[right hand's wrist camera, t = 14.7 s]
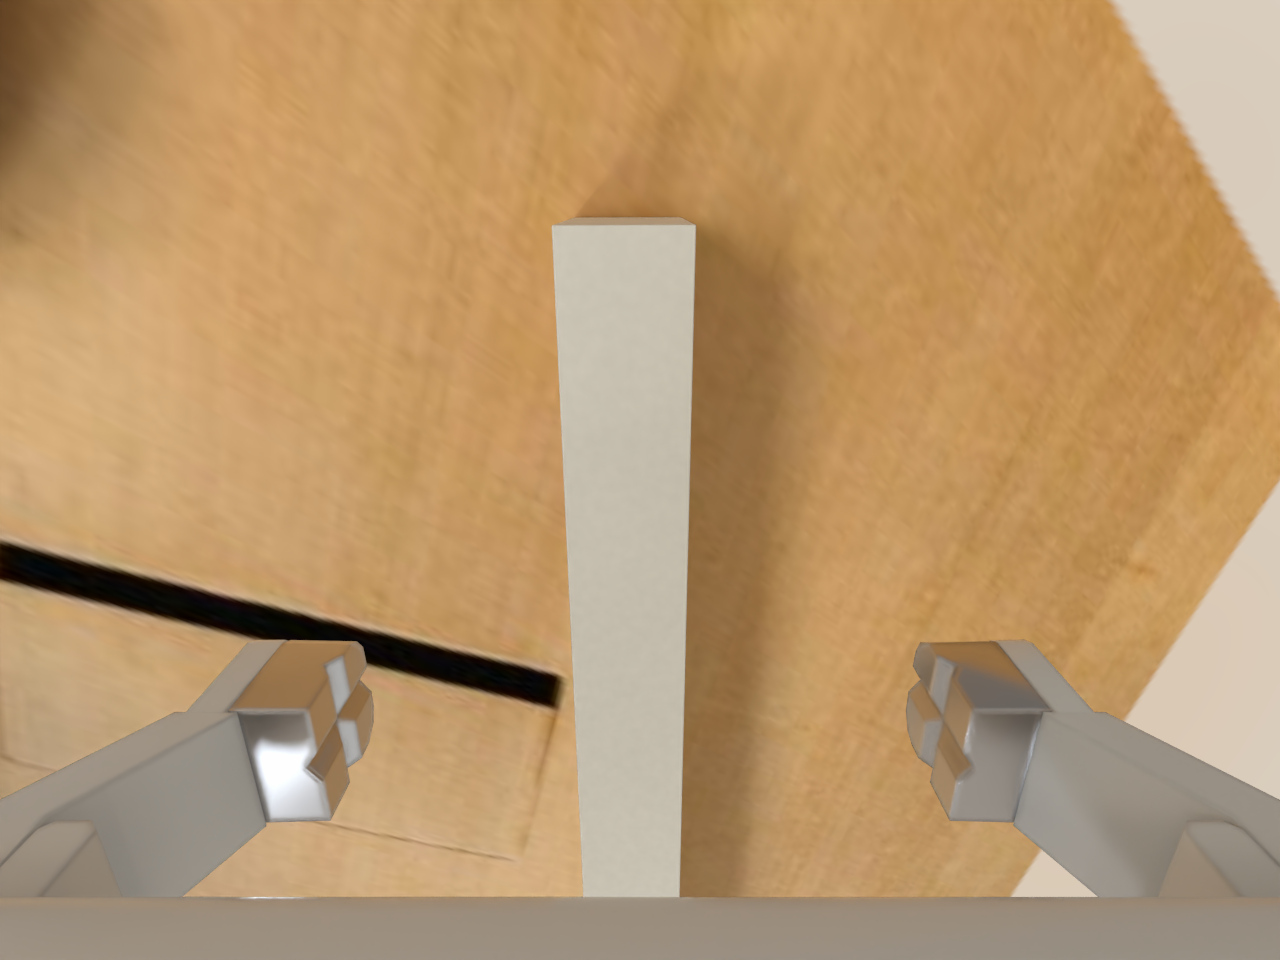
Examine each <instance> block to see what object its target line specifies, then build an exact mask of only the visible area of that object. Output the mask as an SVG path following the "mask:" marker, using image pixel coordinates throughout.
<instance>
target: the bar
mask: <svg viewBox="0 0 1280 960" xmlns="http://www.w3.org/2000/svg"><path fill="white" fill-rule="evenodd" d="M552 241H553V262H554V283H555V304H556V326H557V347H558V368H559V389H560V410H561V432H562V453H563V474H564V495H565V516H566V538H567V559H568V580H569V601H570V622H571V644H572V665H573V686H574V707H575V728H576V750H577V771H578V792H579V813H580V834H581V856H582V877H583V897H680V859H681V819H682V778H683V738H684V697H685V657H686V616H687V576H688V535H689V495H690V454H691V414H692V373H693V333H694V292H695V252H696V225H695V224H693V223H691V222H689V221H687V220H685V219H683V218H681V217H575V218H572V219H569V220H566V221H563V222H560V223H558V224H555V225H552Z"/></svg>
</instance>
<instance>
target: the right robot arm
mask: <svg viewBox="0 0 1280 960" xmlns="http://www.w3.org/2000/svg"><path fill="white" fill-rule="evenodd" d="M366 667H367V664H366V659H365V654H364V650H363V647H362V646H361V645H360V644H359V643H358V642H353V641H306V640H290V641H287V640H256V641H252V642H249V643H247V644H246V645H245V646H244V647H243V649H242V650H241V651H240V652H239V653H238V654H237V655H236V656H235V658H234V659H233V660H232V661H231V662H230V663H229V664H228V665H227V667H226V668H225V669H224V670H223V671H222V672H221V673H220V674H219V676H218V677H217V678H216V679H215V680H214V681H213V682H212V683H211V685H210V686H209V687H208V688H207V689H206V690H205V691H204V692H203V694H202V695H201V696H200V697H199V698H198V699H197V700H196V701H195V702H194V704H193V705H192V706H191V707H190V708H189V709H188V710H187V711H186V712H174V713H172V714H170V715H168V716H166V717H164V718H162V719H160V720H158V721H156V722H154V723H152V724H150V725H148V726H146V727H144V728H142V729H140V730H138V731H136V732H134V733H132V734H130V735H128V736H126V737H124V738H122V739H120V740H118V741H116V742H114V743H112V744H110V745H108V746H106V747H104V748H102V749H100V750H98V751H96V752H94V753H92V754H90V755H88V756H86V757H84V758H82V759H80V760H78V761H76V762H74V763H72V764H70V765H68V766H66V767H64V768H62V769H60V770H59V771H57V772H55V773H53V774H51V775H49V776H47V777H45V778H43V779H41V780H39V781H37V782H35V783H33V784H31V785H29V786H27V787H25V788H23V789H21V790H19V791H17V792H15V793H13V794H11V795H9V796H7V797H5V798H3V799H1V800H0V960H1280V800H1279V799H1277V798H1275V797H1273V796H1271V795H1269V794H1267V793H1265V792H1263V791H1261V790H1259V789H1257V788H1255V787H1253V786H1251V785H1249V784H1247V783H1245V782H1243V781H1241V780H1239V779H1237V778H1235V777H1233V776H1231V775H1229V774H1227V773H1225V772H1223V771H1221V770H1219V769H1217V768H1215V767H1213V766H1211V765H1209V764H1207V763H1205V762H1203V761H1201V760H1199V759H1197V758H1195V757H1193V756H1191V755H1189V754H1187V753H1185V752H1183V751H1181V750H1179V749H1177V748H1175V747H1173V746H1171V745H1169V744H1167V743H1165V742H1164V741H1161V740H1160V739H1157V738H1156V737H1154V736H1152V735H1150V734H1148V733H1146V732H1144V731H1142V730H1140V729H1138V728H1136V727H1134V726H1132V725H1130V724H1128V723H1126V722H1124V721H1122V720H1120V719H1118V718H1116V717H1114V716H1112V715H1110V714H1108V713H1106V712H1093V710H1092V709H1091V708H1090V707H1089V706H1088V705H1087V704H1086V703H1085V701H1084V700H1083V699H1082V698H1081V697H1080V696H1079V695H1078V694H1077V692H1076V691H1075V690H1074V689H1073V688H1072V687H1071V686H1070V685H1069V683H1068V682H1067V681H1066V680H1065V679H1064V678H1063V677H1062V676H1061V674H1060V673H1059V672H1058V671H1057V670H1056V669H1055V668H1054V667H1053V665H1052V664H1051V663H1050V662H1049V661H1048V660H1047V659H1046V658H1045V656H1044V655H1043V654H1042V653H1041V652H1040V651H1039V650H1038V649H1037V647H1036V646H1035V645H1034V644H1033V643H1031V642H1028V641H1026V640H996V641H987V642H920V644H919V646H918V648H917V650H916V653H915V658H914V663H913V667H914V669H915V671H916V672H917V674H918V676H919V678H920V679H921V680H920V681H919V682H918V683H917V684H916V685H915V686H914V687H913V688H912V689H911V690H910V691H909V692H908V700H907V707H906V717H907V728H908V733H909V736H910V740H911V743H912V746H913V748H914V750H915V752H916V754H917V756H918V758H919V759H921V760H922V761H923V762H925V763H926V764H928V765H929V766H931V767H932V768H933V770H932V775H931V780H930V783H931V785H932V787H933V789H934V791H935V793H936V795H937V797H938V798H939V800H940V802H941V804H942V806H943V808H944V810H945V812H946V814H947V816H948V818H949V820H950V821H983V822H1014V824H1013V825H1014V826H1015V827H1016V828H1017V829H1018V830H1019V831H1021V832H1022V833H1023V834H1024V835H1025V836H1027V837H1028V838H1029V839H1030V840H1031V841H1033V842H1034V843H1035V844H1036V845H1037V846H1038V847H1040V848H1041V849H1042V850H1043V851H1044V852H1046V853H1047V854H1048V855H1049V856H1050V857H1052V858H1053V859H1054V860H1055V861H1056V862H1057V863H1059V864H1060V865H1061V866H1062V867H1063V868H1065V869H1066V870H1067V871H1068V872H1069V873H1070V874H1072V875H1073V876H1074V877H1075V878H1076V879H1078V880H1079V881H1080V882H1081V883H1082V884H1084V885H1085V886H1086V887H1087V888H1088V889H1090V890H1091V891H1092V892H1093V893H1094V894H1095V895H1097V896H1098V897H182V896H184V895H185V894H186V893H187V892H188V891H190V890H191V889H192V888H193V887H194V886H195V885H197V884H198V883H199V882H200V881H201V880H203V879H204V878H205V877H206V876H207V875H209V874H210V873H211V872H212V871H213V870H214V869H216V868H217V867H218V866H219V865H220V864H222V863H223V862H224V861H225V860H226V859H228V858H229V857H230V856H231V855H232V854H234V853H235V852H236V851H237V850H238V849H239V848H241V847H242V846H243V845H244V844H245V843H247V842H248V841H249V840H250V839H251V838H253V837H254V836H255V835H256V834H257V833H259V832H260V831H261V830H262V829H263V828H264V827H266V822H296V821H330V820H331V818H332V816H333V814H334V812H335V810H336V808H337V806H338V804H339V803H340V801H341V799H342V797H343V795H344V793H345V791H346V789H347V787H348V785H349V783H350V780H349V775H348V770H347V768H348V767H349V766H351V765H352V764H354V763H355V762H357V761H358V760H359V759H361V758H362V756H363V754H364V752H365V750H366V748H367V746H368V743H369V741H370V736H371V731H372V727H373V722H374V705H373V698H372V692H371V691H370V690H369V689H368V688H367V687H366V686H365V685H364V684H363V683H362V682H361V681H360V680H359V679H360V678H361V676H362V674H363V672H364V671H365V669H366Z"/></svg>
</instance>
